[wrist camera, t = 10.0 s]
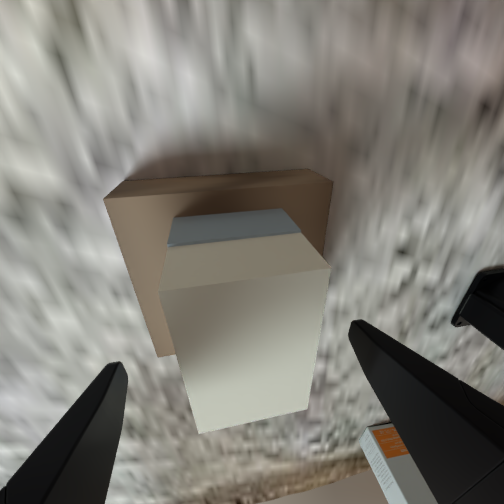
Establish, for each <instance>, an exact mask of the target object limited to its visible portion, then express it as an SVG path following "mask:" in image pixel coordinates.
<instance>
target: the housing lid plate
mask: <svg viewBox="0 0 504 504" xmlns="http://www.w3.org/2000/svg"><path fill="white" fill-rule="evenodd" d="M330 274H331V267H330V266H329V264H328V263H327V262H326V261H325V260H324V259H323V257H322V256H321V255H320V254H319V253H318V252H317V250H316V249H315V248H314V247H313V246H312V245H311V243H310V242H309V241H308V240H307V239H306V238H305V236H304V235H303V234H302V233H293V234H283V235H274V236H265V237H256V238H247V239H238V240H229V241H220V242H211V243H202V244H193V245H184V246H175V247H168V250H167V254H166V258H165V263H164V267H163V272H162V276H161V281H160V285H159V289H158V293H159V297H160V300H161V304H162V307H163V311H164V314H165V318H166V321H167V325H168V328H169V332H170V335H171V339H172V342H173V346H174V349H175V353H176V356H177V360H178V363H179V366H180V370H181V373H182V377H183V380H184V384H185V387H186V391H187V394H188V398H189V401H190V405H191V408H192V412H193V415H194V419H195V422H196V426H197V429H198V433H199V434H201V433H205V432H210V431H214V430H219V429H223V428H227V427H232V426H236V425H240V424H245V423H249V422H254V421H258V420H262V419H267V418H271V417H275V416H280V415H284V414H288V413H293V412H297V411H302V410H306V409H307V407H308V401H309V396H310V390H311V384H312V378H313V372H314V367H315V361H316V355H317V349H318V343H319V338H320V332H321V326H322V320H323V314H324V309H325V303H326V297H327V291H328V285H329V280H330Z"/></svg>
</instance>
